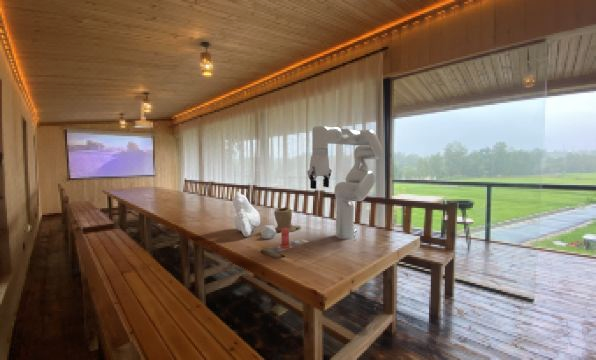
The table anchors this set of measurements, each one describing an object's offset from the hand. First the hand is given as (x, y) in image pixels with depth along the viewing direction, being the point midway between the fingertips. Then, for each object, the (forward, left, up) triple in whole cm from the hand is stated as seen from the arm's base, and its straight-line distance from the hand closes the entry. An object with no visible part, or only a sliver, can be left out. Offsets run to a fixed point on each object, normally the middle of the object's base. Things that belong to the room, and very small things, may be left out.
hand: (319, 187), depth 129 cm
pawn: (+13, -11, -29) cm, 33 cm away
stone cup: (-9, -33, -31) cm, 46 cm away
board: (+10, -11, -30) cm, 34 cm away
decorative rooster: (+10, -49, -31) cm, 58 cm away
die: (+8, -29, -31) cm, 43 cm away
